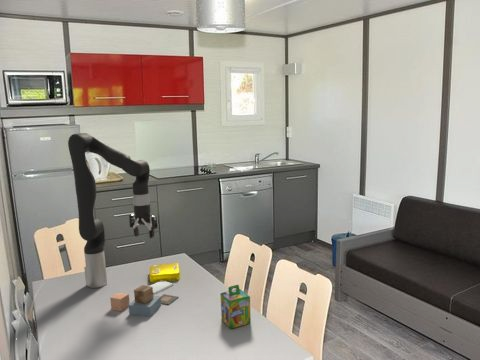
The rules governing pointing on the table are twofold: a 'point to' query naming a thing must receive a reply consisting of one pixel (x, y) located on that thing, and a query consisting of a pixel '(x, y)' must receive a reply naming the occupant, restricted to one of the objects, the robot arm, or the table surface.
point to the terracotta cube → (119, 301)
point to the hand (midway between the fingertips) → (144, 236)
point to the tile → (167, 299)
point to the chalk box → (235, 307)
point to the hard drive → (160, 286)
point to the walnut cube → (143, 294)
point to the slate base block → (145, 307)
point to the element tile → (164, 272)
